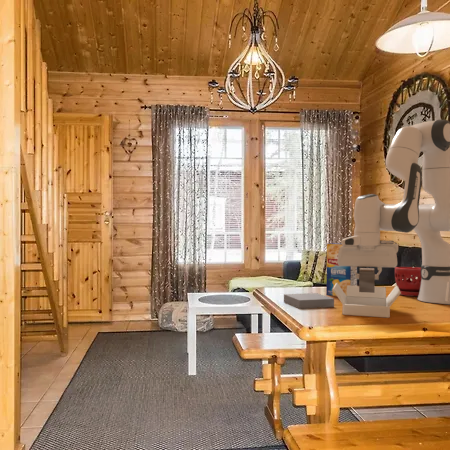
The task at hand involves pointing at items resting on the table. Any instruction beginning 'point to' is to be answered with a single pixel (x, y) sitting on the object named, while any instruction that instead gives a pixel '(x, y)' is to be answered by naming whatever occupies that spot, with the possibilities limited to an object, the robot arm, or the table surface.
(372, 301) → the carton
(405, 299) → the table surface
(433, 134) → the robot arm
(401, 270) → the plant pot
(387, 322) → the table surface
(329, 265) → the blue cardboard box
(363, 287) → the walnut block
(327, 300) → the slate platform
